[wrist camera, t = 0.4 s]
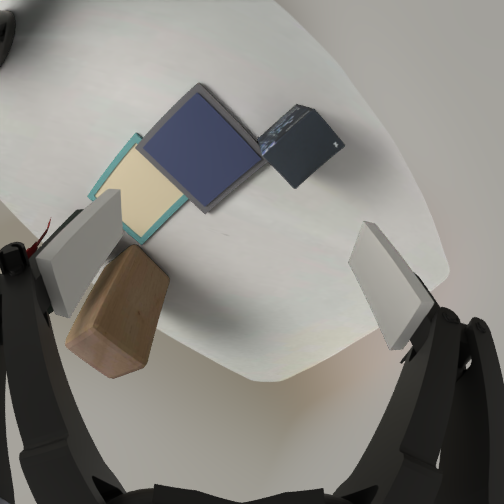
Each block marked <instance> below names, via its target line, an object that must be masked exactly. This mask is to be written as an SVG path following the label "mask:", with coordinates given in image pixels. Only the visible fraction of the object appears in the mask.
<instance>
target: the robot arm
mask: <svg viewBox="0 0 504 504" xmlns="http://www.w3.org/2000/svg"><path fill="white" fill-rule="evenodd" d="M14 33H15V18H14V15H13V14H12V13H11V12H10V11H0V67H1V65H2V63H3V62H4V60H5V58H6V56H7V54H8V52H9V49H10V47H11V44H12V41H13V37H14ZM122 236H123V224H122V209H121V189H107V190H106V191H105V192H104V193H102V194H101V195H100V196H99V197H98V198H97V199H95V200H94V201H93V202H92V203H91V204H90V205H89V206H87V207H86V208H85V209H84V210H83V211H82V212H81V213H80V214H79V215H77V216H76V217H75V218H74V219H73V220H72V221H71V222H70V223H69V224H68V225H67V226H66V227H65V228H64V229H61V230H59V231H57V232H55V233H54V234H52V235H51V236H50V237H49V238H48V239H47V241H45V242H44V243H43V244H42V246H41V247H40V248H39V249H38V250H37V251H36V252H35V253H34V254H33V255H32V256H31V257H30V258H29V259H28V256H27V252H26V249H25V246H24V244H23V243H21V242H14V243H10V244H8V245H6V246H4V247H3V248H2V249H1V250H0V268H1V271H2V274H0V504H15V500H14V489H13V483H12V477H11V470H10V464H9V457H8V448H7V438H6V423H5V384H6V371H7V377H8V384H9V389H10V395H11V399H12V404H13V409H14V413H15V417H16V421H17V424H18V428H19V431H20V435H21V438H22V441H23V445H24V450H23V451H22V452H21V453H20V455H19V460H20V464H21V467H22V470H23V473H24V475H25V478H26V480H27V483H28V485H29V488H30V490H31V492H32V494H33V496H34V498H35V501H36V503H37V504H504V383H503V378H502V374H501V369H500V364H499V360H498V357H497V352H496V349H495V345H494V342H493V338H492V335H491V332H490V329H489V327H488V326H487V324H486V323H485V321H483V320H482V319H479V318H477V317H474V318H472V319H471V321H470V322H469V324H468V325H466V324H463V323H460V319H459V318H458V316H457V315H456V314H455V313H454V312H453V311H451V310H450V309H448V308H445V307H441V308H440V306H439V305H438V303H437V302H436V300H435V299H434V297H433V296H432V295H431V293H430V292H429V291H428V289H427V287H426V286H425V285H424V283H423V282H422V280H421V279H420V278H419V276H417V275H416V274H415V273H414V272H413V271H412V270H411V268H410V267H409V266H408V264H407V263H406V262H405V260H404V259H403V258H402V256H401V255H400V254H399V253H398V251H397V250H396V249H395V247H394V246H393V245H392V244H391V242H390V241H389V240H388V239H387V237H386V236H385V235H384V234H383V233H382V231H381V230H380V229H379V228H378V226H377V225H376V224H375V223H370V222H365V221H363V224H362V227H361V230H360V232H359V235H358V238H357V241H356V243H355V246H354V249H353V251H352V254H351V256H350V259H349V262H348V263H349V265H350V267H351V269H352V271H353V273H354V275H355V277H356V279H357V281H358V283H359V285H360V287H361V289H362V291H363V293H364V295H365V297H366V299H367V301H368V303H369V305H370V308H371V310H372V312H373V314H374V316H375V318H376V321H377V323H378V325H379V327H380V330H381V332H382V334H383V336H384V339H385V341H386V343H387V346H388V348H389V350H400V349H403V348H404V347H405V346H406V344H407V343H408V342H409V340H410V341H411V343H412V345H413V346H412V348H411V349H410V350H409V352H408V353H407V354H406V355H405V356H404V358H403V359H402V360H401V362H400V363H403V362H404V361H405V363H404V366H403V369H402V372H401V374H400V377H399V380H398V383H397V385H396V387H395V390H394V392H393V395H392V397H391V399H390V402H389V404H388V406H387V409H386V411H385V413H384V415H383V417H382V419H381V422H380V424H379V426H378V428H377V430H376V432H375V434H374V436H373V437H372V439H371V441H370V443H369V445H368V447H367V449H366V451H365V452H364V454H363V456H362V458H361V460H360V461H359V463H358V464H357V466H356V468H355V469H354V471H353V473H352V474H351V475H350V477H349V478H348V479H347V480H346V481H345V482H344V483H342V484H341V485H340V486H339V487H338V488H337V490H336V491H335V492H334V493H333V495H329V494H324V490H323V488H321V489H314V490H306V491H297V492H285V493H281V494H278V495H274V496H270V497H266V498H262V499H258V500H254V501H249V502H244V503H239V502H234V501H230V500H227V499H223V498H219V497H216V496H212V495H209V494H206V493H203V492H200V491H196V490H188V489H181V488H174V487H169V486H163V485H158V484H154V488H148V489H139V490H135V491H131V492H128V493H126V491H125V490H124V488H123V487H122V485H121V484H120V482H119V481H118V479H117V478H116V476H115V475H114V474H113V472H112V471H111V470H110V469H109V468H108V466H107V465H106V464H105V462H104V461H103V459H102V457H101V455H100V454H99V452H98V450H97V448H96V446H95V444H94V442H93V440H92V438H91V436H90V434H89V432H88V430H87V428H86V425H85V423H84V421H83V419H82V417H81V414H80V412H79V410H78V407H77V405H76V402H75V400H74V397H73V395H72V392H71V389H70V387H69V384H68V381H67V378H66V375H65V372H64V369H63V366H62V363H61V359H60V356H59V353H58V349H57V345H56V342H55V338H54V334H53V330H52V326H51V321H50V317H49V314H48V312H47V309H48V307H49V306H50V304H51V305H52V307H53V310H54V312H55V314H56V315H60V316H63V317H67V318H70V316H71V315H72V313H73V311H74V310H75V308H76V306H77V305H78V303H79V301H80V299H81V298H82V296H83V295H84V293H85V291H86V290H87V288H88V287H89V285H90V283H91V282H92V280H93V279H94V277H95V276H96V274H97V273H98V271H99V269H100V268H101V266H102V265H103V264H104V262H105V261H106V259H107V258H108V256H109V255H110V253H111V252H112V250H113V249H114V248H115V246H116V245H117V243H118V242H119V241H120V239H121V238H122ZM470 359H472V362H471V365H470V367H469V368H468V369H466V364H467V363H468V362H469V361H470ZM440 449H441V453H440ZM439 453H440V463H439V469H437V468H436V462H437V459H438V456H439Z"/></svg>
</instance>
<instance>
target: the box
mask: <svg viewBox="0 0 504 504" xmlns="http://www.w3.org/2000/svg"><path fill="white" fill-rule="evenodd" d="M258 143H259V147H260V150H261V154H262V156H263V157H264V158H265V159H266V160H267V161H268V162H269V163H270V164H271V165H272V166H273V167H274V168H275V169H276V170H277V171H278V172H279V173H280V174H281V175H282V176H283V178H284V179H285V180H286V181H287V182H288V183H289V184H290V185H291V186H292V187H293V188H294V189H297V188H298V186H299V185H300V184H302V183H303V182H304V181H305V180H306V179H307V178H308V177H309V176H310V175H312V174H313V173H314V172H315V171H316V170H317V169H318V168H319V167H321V166H322V165H323V164H324V163H325V162H327V161H328V160H329V159H330V158H331V157H332V156H334V155H335V154H336V153H337V152H339V151H340V150H341V149H342V148H344V147H345V144H344V143H343V142H342V141H341V140H340V138H339V137H338V136H337V135H336V133H335V132H334V131H333V130H332V129H331V127H330V126H329V125H328V124H327V123H326V122H325V120H324V119H323V118H322V117H321V116H320V115H319V114H318V112H317V111H316V110H315V109H312V108H309V107H305V106H302V105H298V104H296V105H295V106H294V107H293V108H292V109H291V110H289V111H288V112H287V113H286V114H285V115H284V116H283V117H281V118H280V119H279V120H278V121H277V122H276V123H275V124H274V125H273V126H271V127H270V128H269V129H268V130H267V131H266V132H265V133H264V134H263V135H261V136H260V137H259V138H258Z"/></svg>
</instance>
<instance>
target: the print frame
mask: <svg viewBox="0 0 504 504" xmlns="http://www.w3.org/2000/svg"><path fill="white" fill-rule="evenodd" d="M142 139H143V138H142V137H140V136H139V135H138V134H137V133H135V134H134V135H133V137H132V138H131V139H130V140H129V141H128V142H127V144H126V145H125V146H124V147H123V149H122V150H121V151H120V152H119V154H118V155H117V156H116V157H115V159H114V160H113V161H112V163H111V164H110V165H109V166H108V168H107V169H106V170H105V172H104V173H103V175H102V176H101V177H100V179H99V180H98V181H97V183H96V184H95V186H94V187H93V189H92V190H91V192H90V193H89V194H88V196H87V197H88V198H89V199H90V200H92V201H94V200H95V199H97V198H98V197H99V196H100V195H101V194H102V193H104V192H105V191H106V190H107V189H121V209H122V224H123V229H124V230H125V231H126V232H127V233H128V234H129V235H130V236H132V237H133V238H134V239H135V240H136V241H137V242H139V243H140V244H141V245H142V244H143V243H144V242H145V241H146V240H147V239H148V238H149V237H150V236H151V235H152V234H153V233H154V232H155V231H156V230H157V229H158V228H159V227H160V226H161V225H162V224H163V223H164V222H165V221H166V220H167V219H168V218H169V217H170V216H171V215H172V214H173V213H174V212H175V211H176V210H177V209H178V208H179V207H180V206H181V205H182V204H183V203H184V202H185V201H187V200H188V198H187V197H186V196H185V195H184V194H183V193H182V192H181V191H180V190H179V189H178V188H177V187H176V186H174V185H173V184H172V183H171V182H170V181H169V180H168V179H167V178H166V177H165V176H164V175H163V174H162V173H161V172H160V171H159V170H158V169H157V168H155V167H154V166H153V165H152V164H151V163H150V162H149V161H148V160H147V159H146V158H145V157H144V156H143V155H142V154H141V153H140V152H139V151H138V150H136V149H135V147H136V146H137V144H138V143H139V142H140V141H141V140H142Z"/></svg>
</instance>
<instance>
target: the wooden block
mask: <svg viewBox="0 0 504 504" xmlns="http://www.w3.org/2000/svg"><path fill="white" fill-rule="evenodd" d="M169 282H170V280H169V277H168V276H167V275H166V274H165V273H164V272H163V271H162V270H161V269H160V268H159V267H158V266H157V265H156V264H155V263H154V262H153V261H152V260H151V259H150V258H149V257H148V256H147V255H146V254H145V253H144V252H143V251H142V250H141V249H140V248H139V246H137V245H135V244H134V245H131V246H130V247H128V248H127V249H126V250H125V251H123V252H122V253H121V254H120V255H119V256H117V257H116V258H115V259H114V260H113V261H111V262H110V263H109V264H108V265H107V266H106V267H105V268H104V270H103V271H102V273H101V275H100V276H99V278H98V280H97V281H96V283H95V285H94V287H93V289H92V290H91V292H90V294H89V295H88V298H87V299H86V301H85V303H84V305H83V307H82V308H81V311H80V312H79V314H78V316H77V318H76V320H75V322H74V324H73V326H72V328H71V330H70V332H69V334H68V336H67V338H66V343H65V346H66V347H67V348H68V349H69V350H70V351H72V352H73V353H74V354H75V355H77V356H78V357H79V358H81V359H82V360H84V361H85V362H86V363H88V364H89V365H90V366H92V367H93V368H95V369H96V370H98V371H99V372H101V373H102V374H104V375H105V376H107V377H108V378H112V379H114V378H117V377H120V376H123V375H126V374H128V373H131V372H134V371H137V370H139V369H142V368H144V367H145V365H146V364H147V362H148V358H149V354H150V350H151V346H152V342H153V338H154V334H155V331H156V327H157V323H158V319H159V316H160V312H161V309H162V305H163V302H164V298H165V295H166V292H167V288H168V285H169Z"/></svg>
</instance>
